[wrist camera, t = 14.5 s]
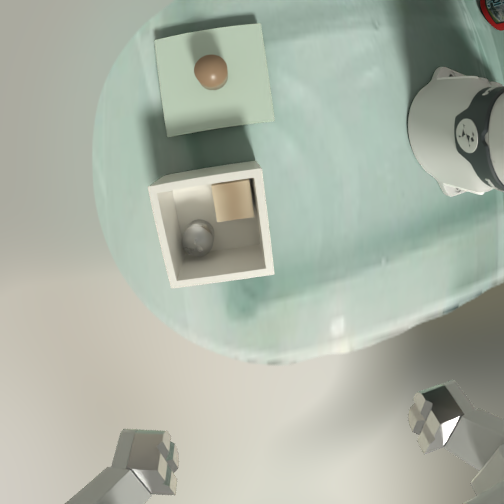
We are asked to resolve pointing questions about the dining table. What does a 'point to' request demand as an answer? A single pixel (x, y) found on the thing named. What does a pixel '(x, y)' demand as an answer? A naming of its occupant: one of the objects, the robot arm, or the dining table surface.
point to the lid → (214, 79)
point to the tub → (225, 233)
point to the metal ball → (198, 238)
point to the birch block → (232, 200)
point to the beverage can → (494, 12)
